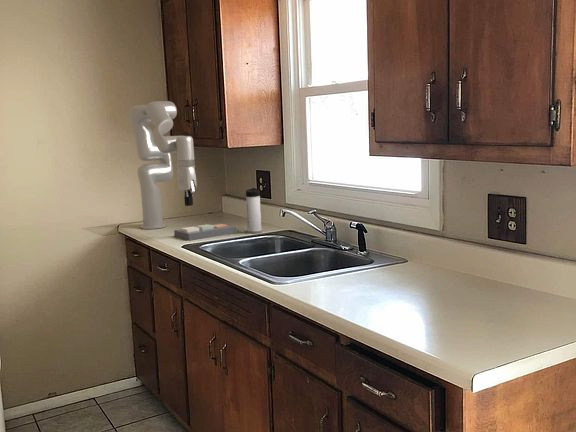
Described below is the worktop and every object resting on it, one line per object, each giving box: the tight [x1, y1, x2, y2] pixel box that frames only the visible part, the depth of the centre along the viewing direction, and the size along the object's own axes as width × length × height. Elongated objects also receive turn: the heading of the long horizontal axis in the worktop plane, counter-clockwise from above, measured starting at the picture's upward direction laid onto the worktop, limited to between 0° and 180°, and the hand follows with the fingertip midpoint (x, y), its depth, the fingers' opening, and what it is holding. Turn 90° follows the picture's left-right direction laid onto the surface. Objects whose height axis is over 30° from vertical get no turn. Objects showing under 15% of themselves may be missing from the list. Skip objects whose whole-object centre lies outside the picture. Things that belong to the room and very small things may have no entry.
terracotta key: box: [212, 223, 228, 228], centre depth 301 cm, size 6×6×2 cm
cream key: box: [180, 226, 199, 233], centre depth 292 cm, size 6×6×2 cm
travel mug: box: [245, 187, 262, 235], centre depth 297 cm, size 6×7×20 cm
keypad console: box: [173, 223, 237, 242], centre depth 296 cm, size 14×24×3 cm, turn 127°
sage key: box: [195, 223, 214, 230], centre depth 296 cm, size 6×6×2 cm
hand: (189, 205), depth 290 cm, fingers closed
